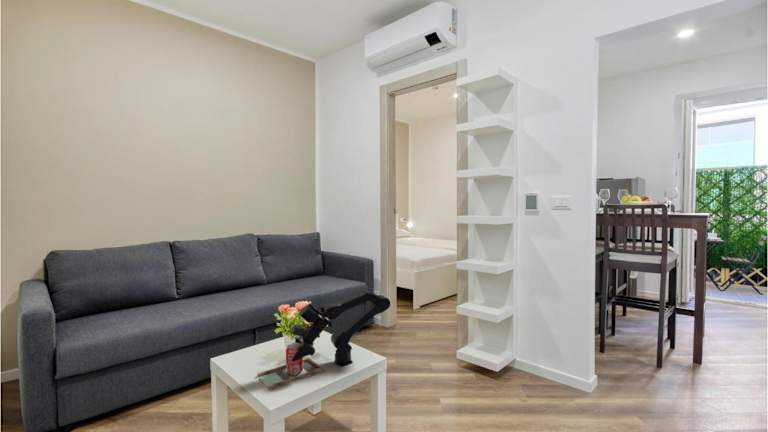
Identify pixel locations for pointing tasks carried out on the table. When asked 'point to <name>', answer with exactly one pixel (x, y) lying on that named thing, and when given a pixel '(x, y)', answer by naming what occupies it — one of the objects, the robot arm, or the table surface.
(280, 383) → the trap lane
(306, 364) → the trap strips
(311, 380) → the table surface
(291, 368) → the soda can
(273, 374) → the pad
